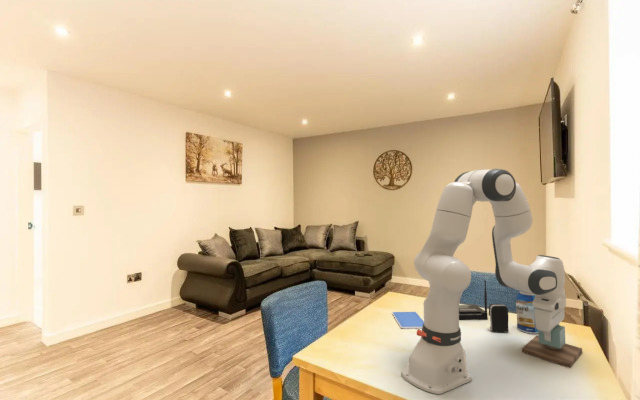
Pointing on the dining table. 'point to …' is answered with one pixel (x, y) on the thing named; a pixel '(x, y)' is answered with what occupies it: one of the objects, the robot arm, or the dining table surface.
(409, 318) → the tablet computer
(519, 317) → the beverage bottle
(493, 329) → the battery charger
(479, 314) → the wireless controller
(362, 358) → the dining table surface
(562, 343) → the sage green cube
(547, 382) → the dining table surface
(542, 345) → the stub plate
